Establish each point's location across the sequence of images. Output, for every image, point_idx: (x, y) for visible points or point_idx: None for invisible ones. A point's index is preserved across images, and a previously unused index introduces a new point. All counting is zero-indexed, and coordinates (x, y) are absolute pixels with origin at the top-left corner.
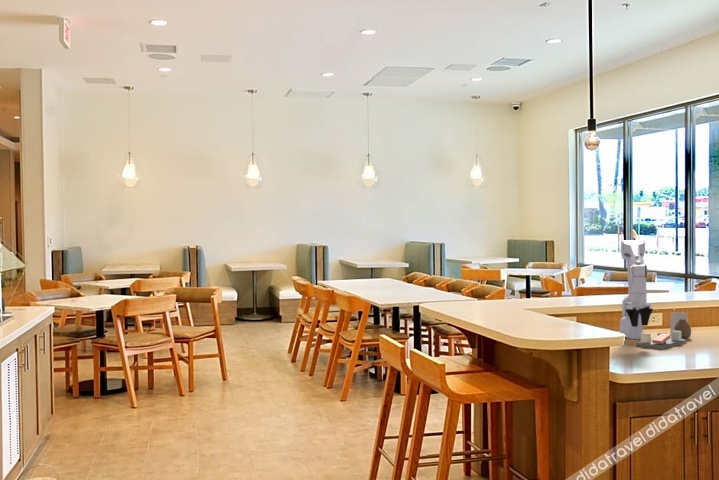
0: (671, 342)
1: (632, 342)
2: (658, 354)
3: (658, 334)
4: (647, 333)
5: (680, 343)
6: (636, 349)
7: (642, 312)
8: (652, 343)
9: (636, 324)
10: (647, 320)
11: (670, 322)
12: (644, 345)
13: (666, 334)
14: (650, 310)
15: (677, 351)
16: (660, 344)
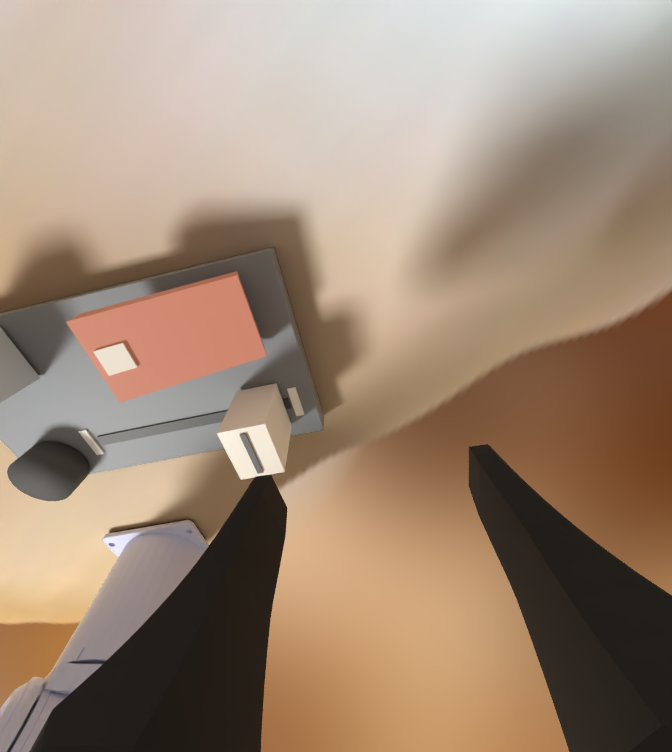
0: None
1: None
2: (461, 78)
3: (74, 482)
4: (256, 431)
5: (1, 313)
6: (411, 343)
7: (243, 697)
8: None
9: (505, 462)
10: (248, 524)
11: None
12: (309, 374)
13: (93, 351)
14: (138, 717)
15: (203, 85)
16: None
